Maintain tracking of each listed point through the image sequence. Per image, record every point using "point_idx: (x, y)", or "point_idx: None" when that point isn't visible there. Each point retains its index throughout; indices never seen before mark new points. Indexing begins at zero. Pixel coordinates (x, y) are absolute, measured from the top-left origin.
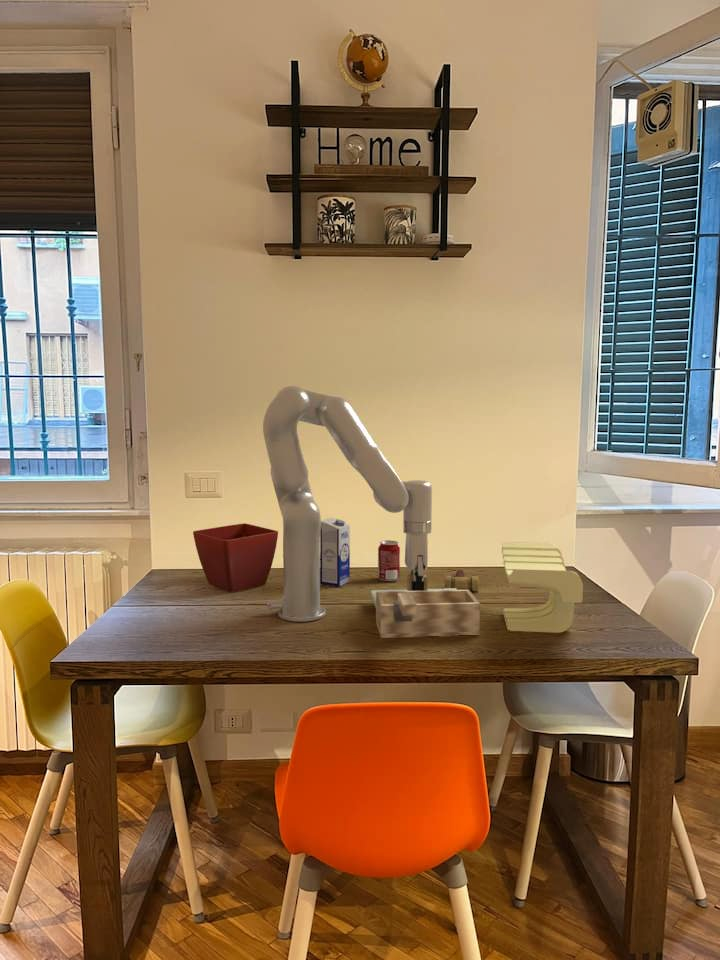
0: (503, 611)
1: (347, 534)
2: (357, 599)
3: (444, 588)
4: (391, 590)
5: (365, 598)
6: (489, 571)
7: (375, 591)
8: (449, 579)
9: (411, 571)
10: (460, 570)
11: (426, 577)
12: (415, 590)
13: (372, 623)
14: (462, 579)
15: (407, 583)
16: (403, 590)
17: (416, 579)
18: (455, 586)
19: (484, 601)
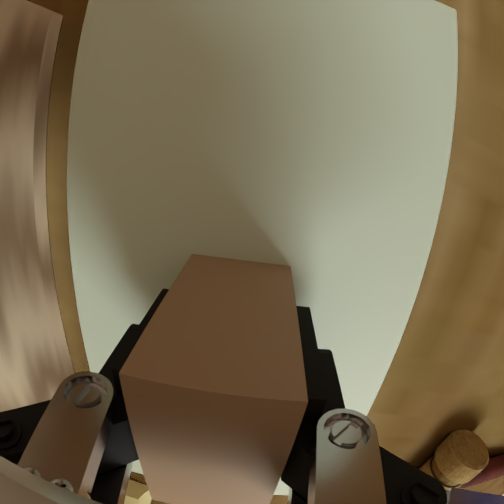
0: (140, 492)
1: None
2: (478, 4)
3: (452, 437)
4: (432, 161)
5: (493, 48)
6: (492, 492)
7: (426, 23)
8: (452, 475)
9: (314, 477)
10: None
11: (152, 492)
12: (132, 331)
13: (50, 3)
14: None
15: (280, 319)
16: (402, 263)
17: (43, 404)
18: (428, 469)
19: (284, 496)
